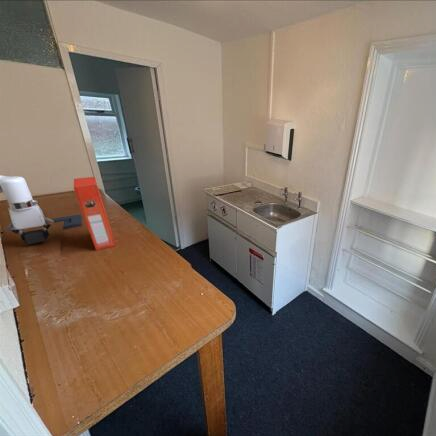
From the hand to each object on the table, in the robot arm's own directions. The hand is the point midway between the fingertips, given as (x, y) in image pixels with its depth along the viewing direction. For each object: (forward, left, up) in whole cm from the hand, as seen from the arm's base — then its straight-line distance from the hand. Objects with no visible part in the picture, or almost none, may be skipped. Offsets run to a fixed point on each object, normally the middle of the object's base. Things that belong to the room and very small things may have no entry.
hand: (36, 238), depth 112 cm
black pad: (0, 0, -1) cm, 1 cm away
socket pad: (+7, +26, -4) cm, 27 cm away
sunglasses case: (-6, +45, -5) cm, 46 cm away
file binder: (+24, -10, -5) cm, 27 cm away
